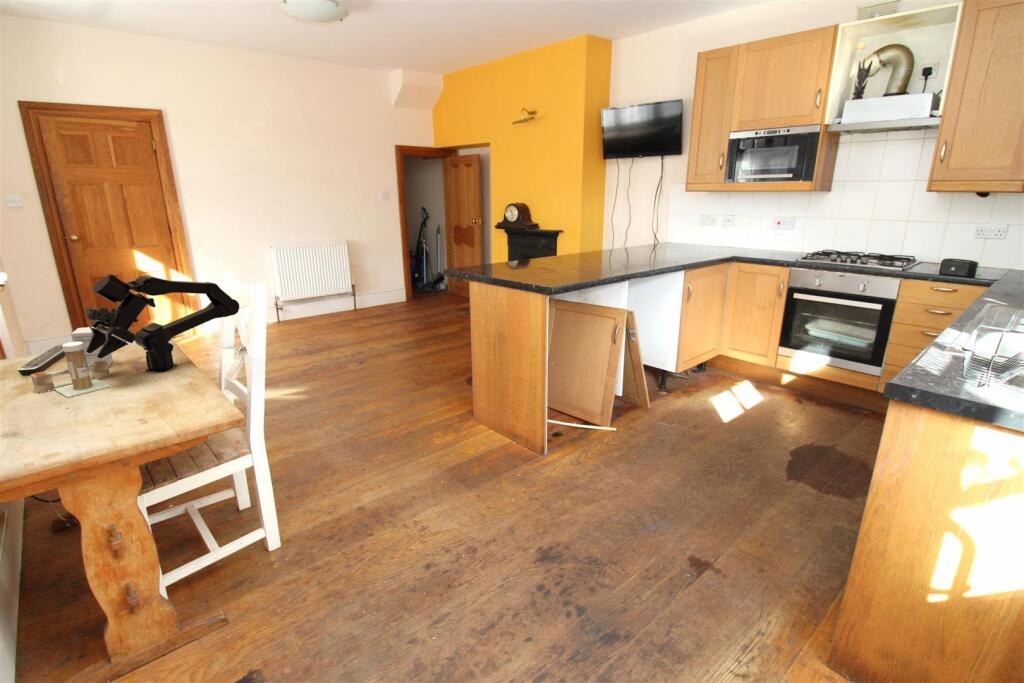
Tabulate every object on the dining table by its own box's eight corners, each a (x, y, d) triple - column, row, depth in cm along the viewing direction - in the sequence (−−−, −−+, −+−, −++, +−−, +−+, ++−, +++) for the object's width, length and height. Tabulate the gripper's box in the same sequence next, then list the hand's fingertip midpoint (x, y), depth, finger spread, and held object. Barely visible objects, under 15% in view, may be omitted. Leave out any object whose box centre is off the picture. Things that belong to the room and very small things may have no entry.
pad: (96, 379, 152) (95, 378, 152) (110, 387, 147) (109, 385, 147) (54, 390, 144) (53, 388, 144) (67, 398, 139) (67, 396, 139)
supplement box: (86, 364, 165) (77, 327, 162) (113, 361, 168) (106, 325, 165) (79, 371, 159) (69, 333, 155) (107, 368, 162) (99, 331, 158)
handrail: (105, 373, 157) (102, 358, 156) (110, 376, 156) (106, 360, 154) (35, 390, 144) (30, 373, 142) (39, 393, 142) (34, 376, 140)
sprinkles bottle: (92, 388, 145) (81, 344, 141) (71, 391, 143) (60, 346, 139) (94, 383, 149) (83, 340, 145) (74, 385, 147) (63, 342, 143)
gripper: (89, 293, 151) (53, 336, 146) (112, 299, 141) (73, 346, 135) (126, 313, 160) (93, 355, 154) (150, 320, 149) (115, 365, 144)
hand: (93, 355), depth 147 cm, fingers open, 9 cm apart
